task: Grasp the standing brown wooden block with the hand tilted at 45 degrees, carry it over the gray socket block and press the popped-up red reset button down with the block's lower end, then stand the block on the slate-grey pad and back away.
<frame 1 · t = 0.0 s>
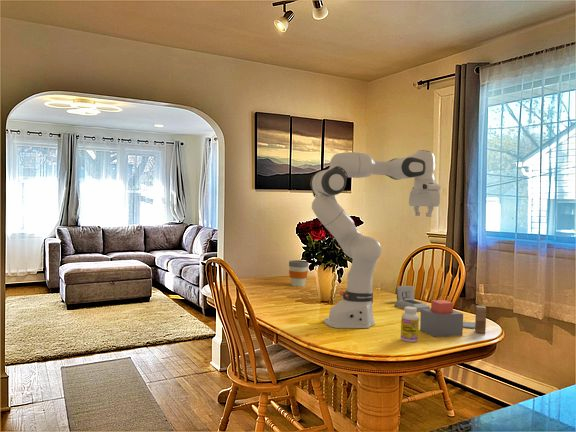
hand: (422, 216, 217), 48 cm above the table, tool pointing down, fingers open, 8 cm apart
electrical switch: (404, 303, 255), on the table
reusable coffee cup: (298, 285, 300), on the table
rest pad: (465, 325, 210), on the table
brown wooden block: (480, 332, 199), on the table
reset button: (441, 307, 197), point 11 cm above the table, slide at 0.0 cm
supplement bottle: (409, 340, 185), on the table
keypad: (412, 309, 242), on the table
gray socket block: (440, 332, 197), on the table
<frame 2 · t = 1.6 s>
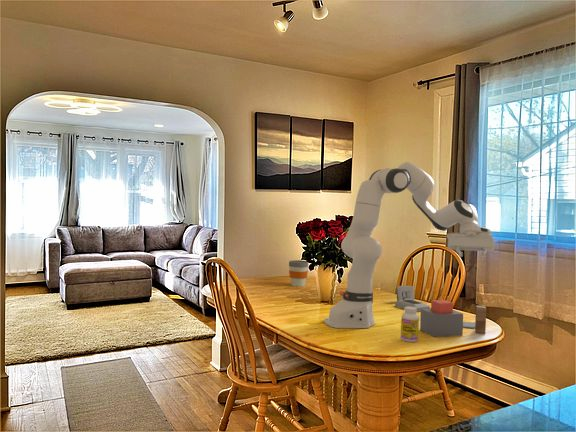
hand: (472, 256, 212), 31 cm above the table, tool tilted 45°, fingers open, 8 cm apart
nothing on the table moved.
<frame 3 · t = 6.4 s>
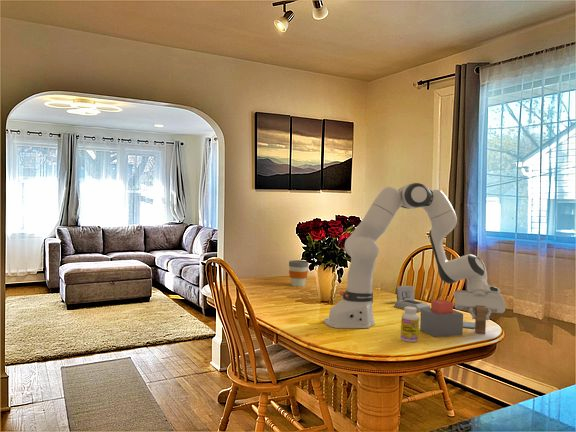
hand: (480, 318, 198), 6 cm above the table, tool tilted 45°, fingers closed on brown wooden block, 4 cm apart
brown wooden block: (480, 332, 199), on the table, touching gripper
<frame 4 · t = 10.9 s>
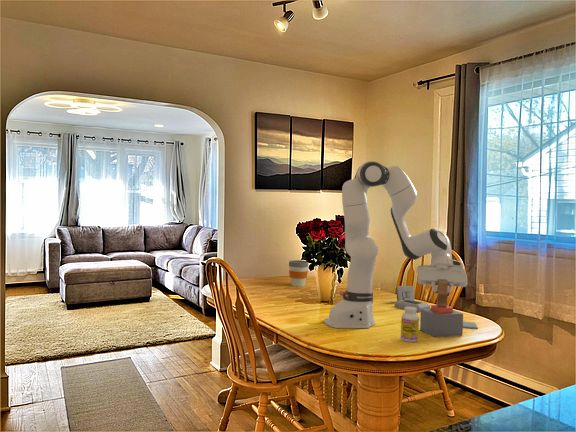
hand: (442, 292, 196), 17 cm above the table, tool tilted 45°, fingers closed on brown wooden block, 4 cm apart
brown wooden block: (441, 306, 197), point 11 cm above the table, touching gripper, reset button
reset button: (441, 312, 197), point 9 cm above the table, slide at 1.9 cm, touching brown wooden block
when the fingers open (7 cm above the table, at t = 16.3 s): brown wooden block drops 1 cm, resting on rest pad.
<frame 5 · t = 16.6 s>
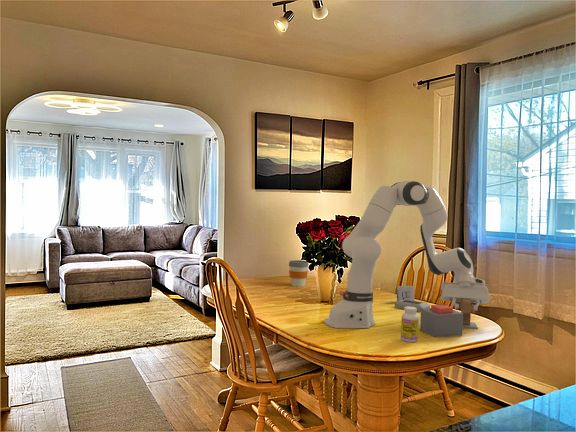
hand: (466, 309, 209), 7 cm above the table, tool tilted 45°, fingers open, 6 cm apart
brown wooden block: (465, 324, 210), point 1 cm above the table, touching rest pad
reset button: (441, 312, 197), point 9 cm above the table, slide at 2.0 cm
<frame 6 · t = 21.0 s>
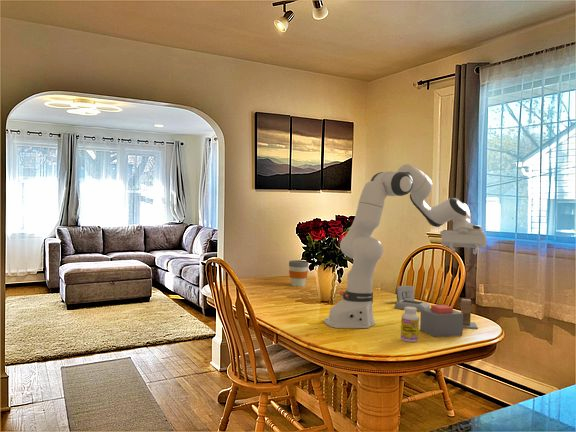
hand: (464, 252, 220), 31 cm above the table, tool tilted 45°, fingers open, 8 cm apart
at the end: reset button slide at 2.0 cm; brown wooden block inside the target area on the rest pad (0.1 cm from its centre), point 0.6 cm above the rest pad's base; brown wooden block tilted 0° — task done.
